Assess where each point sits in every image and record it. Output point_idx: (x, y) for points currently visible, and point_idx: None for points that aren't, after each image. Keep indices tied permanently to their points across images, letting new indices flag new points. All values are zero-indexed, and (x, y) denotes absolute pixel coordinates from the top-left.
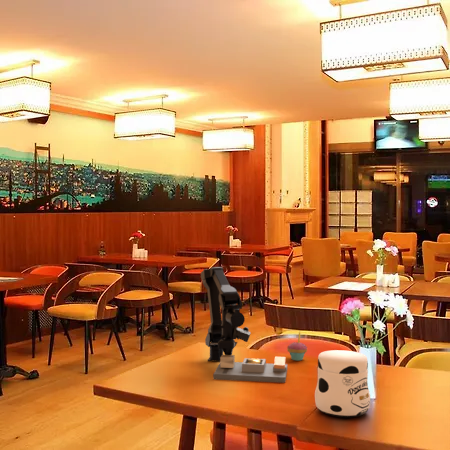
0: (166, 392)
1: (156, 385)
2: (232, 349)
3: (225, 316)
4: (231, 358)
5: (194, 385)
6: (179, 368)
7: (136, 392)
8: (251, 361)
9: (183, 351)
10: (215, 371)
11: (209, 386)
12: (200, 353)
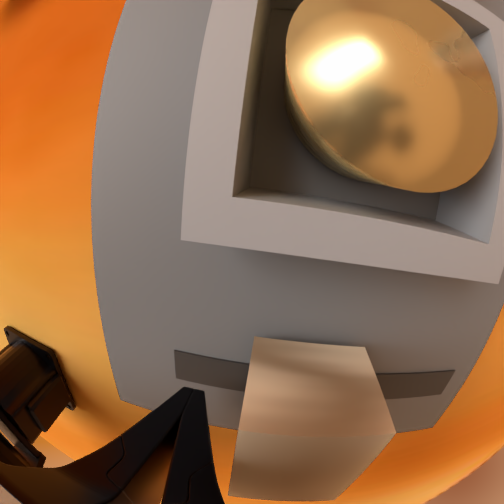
0: (474, 459)
1: (409, 493)
2: (131, 480)
3: None
4: (382, 438)
5: (462, 435)
6: None
7: (439, 493)
8: (483, 135)
9: None
10: None
11: (498, 389)
12: None
